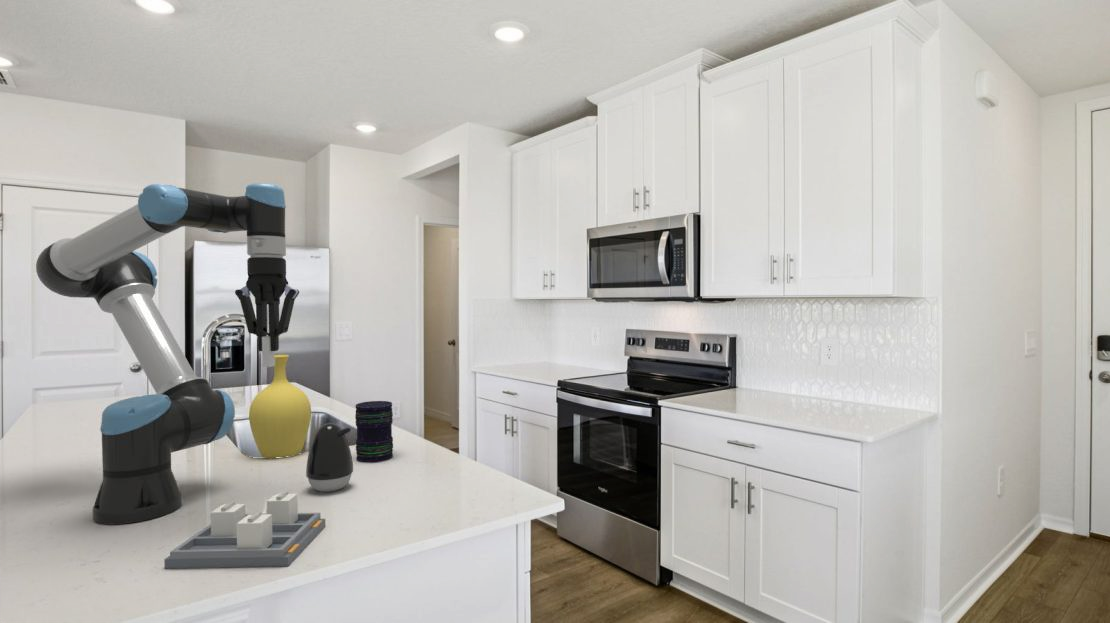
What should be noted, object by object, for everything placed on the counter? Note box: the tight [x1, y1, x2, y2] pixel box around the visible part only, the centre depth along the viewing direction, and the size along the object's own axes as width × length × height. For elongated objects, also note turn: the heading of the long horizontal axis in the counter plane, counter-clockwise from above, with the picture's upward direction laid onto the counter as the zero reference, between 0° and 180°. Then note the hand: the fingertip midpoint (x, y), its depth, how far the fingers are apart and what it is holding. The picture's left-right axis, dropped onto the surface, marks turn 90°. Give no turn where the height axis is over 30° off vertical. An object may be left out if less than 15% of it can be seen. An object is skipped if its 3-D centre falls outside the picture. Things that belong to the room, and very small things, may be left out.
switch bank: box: [163, 512, 326, 569], centre depth 106 cm, size 20×17×3 cm
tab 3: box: [266, 490, 299, 524], centre depth 111 cm, size 4×4×6 cm
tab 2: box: [237, 511, 272, 549], centre depth 100 cm, size 4×4×6 cm
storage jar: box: [354, 400, 394, 464], centre depth 163 cm, size 10×10×15 cm
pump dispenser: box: [305, 422, 354, 493], centre depth 137 cm, size 10×10×15 cm
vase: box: [248, 354, 312, 459], centre depth 168 cm, size 16×16×28 cm
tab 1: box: [210, 501, 246, 537], centre depth 105 cm, size 4×4×6 cm
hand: (268, 366), depth 128 cm, fingers closed
